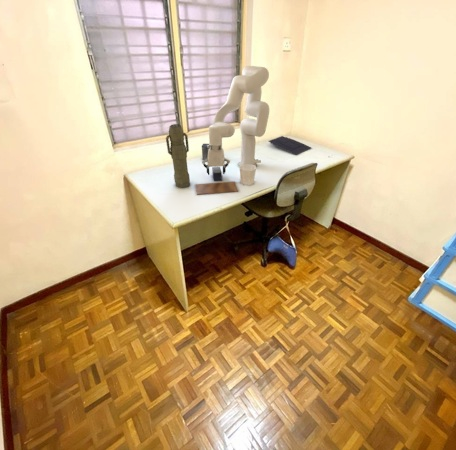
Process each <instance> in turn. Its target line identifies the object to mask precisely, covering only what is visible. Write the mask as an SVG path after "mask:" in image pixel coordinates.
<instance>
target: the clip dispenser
mask: <svg viewBox="0 0 456 450" xmlns="http://www.w3.org/2000/svg"><path fill="white" fill-rule="evenodd" d="M211 171H212V172H211V173H212V179H213V181H214V182H219V181H220V182H222V180H223V171H222V168H221V166H216V167H211Z"/></svg>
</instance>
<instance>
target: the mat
mask: <svg viewBox="0 0 456 450" xmlns="http://www.w3.org/2000/svg"><path fill="white" fill-rule="evenodd" d="M195 189H196V195H197V196H198V195H199V196H201V195H211V194H212V195H214V194H224V193H225V194H226V193H239V189H238V187H237V184H236V182H235V181H225V182H224V181H223V182H214V183H213V182H211V183H198V184H197V183H196V184H195Z"/></svg>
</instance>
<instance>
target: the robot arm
mask: <svg viewBox="0 0 456 450" xmlns="http://www.w3.org/2000/svg"><path fill="white" fill-rule="evenodd" d="M269 76H270V72H269V70H268V68H267V67H265V66H257V65H247V66H244V67H243V68H242V72H241V74H239V75H235V76H234V77H233V78H232V80H231V84H230V88H229V91H228V93H227V97H226V99H225V100H226V101H225V102H224V104H222V105H221V107H220V108H219V109H218V110H217V111H216V113H215V115H214V119H213V122H212V124H211V125H209V126H208V144H209V145H207V148H209V149H208V158H207V159H205V160H202V161H201V164H202V165H203V167H204V168H205V169H206V174H207V175H208V176H209V175H210V168H212V167H222V175H225V174H226V169H227V167H228V166H229V164H230V162H231V160H229V159H228V158H226V157H225V150H224V149H223V139H224V138H231V137H233V136H234V134H235V132H236V129H235V127H234V126H233V125H232V124H230V123H228V122H224V121H225V119H226V118H227V116H228V115H229V114H230V113H232V112H234V111H237V110H239V109H240V107H241V105H242V102H243V99H244V95H245V94H246V95H247V96H246V101H245V111H244V112H245V114H246V115H247V116H249V117H252V118H249V117H245V118H243V119H242V120H241V121H240V125H239V129H240V136H241V138H240V139H241V141H240V143H241V145H240V162H238V167H240V166H241V165H244V164H251V165H254V166H256V167H257V164H261V163H262V160H261V159H258V158H257V159H256V157H255V156H256V143H257V142H256V137H257V138H261V137H263V136H264V135H265V133H266V130H267V126H268V123H269V122H268V121H269V117H270V105H269V103H268V102H265V101H262V93H263V91H262V90H263V89H262V87H263V86H265V84H266V83H267V82H268V80H269ZM254 118H256V119H254ZM206 163H207V164H206Z"/></svg>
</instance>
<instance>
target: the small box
mask: <svg viewBox="0 0 456 450" xmlns="http://www.w3.org/2000/svg"><path fill="white" fill-rule="evenodd" d="M207 145H209V143H202V145H201V155H202V156H201V157H202V161H204V160H205V159H207V158H208V149H209V148H207Z"/></svg>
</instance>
